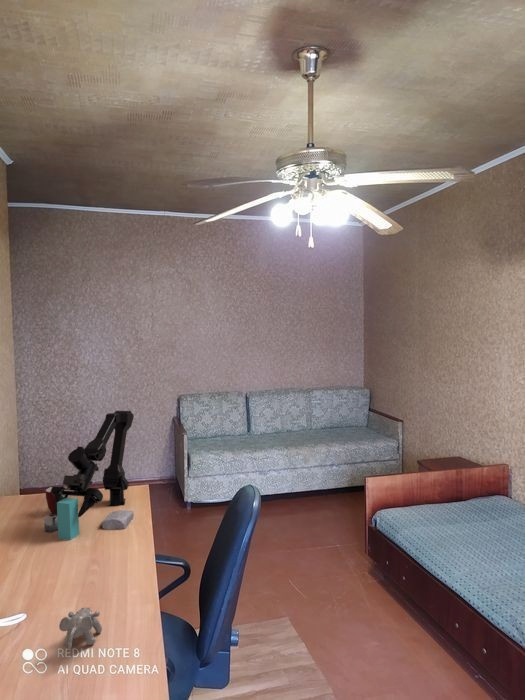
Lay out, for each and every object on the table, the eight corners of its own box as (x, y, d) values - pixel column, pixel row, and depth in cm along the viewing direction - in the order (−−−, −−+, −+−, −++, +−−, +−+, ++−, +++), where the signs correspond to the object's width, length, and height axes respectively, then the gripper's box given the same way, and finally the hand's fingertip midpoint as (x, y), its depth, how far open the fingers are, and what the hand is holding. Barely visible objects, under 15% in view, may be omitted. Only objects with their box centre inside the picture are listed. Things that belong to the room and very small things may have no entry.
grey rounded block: (46, 528, 184) (45, 514, 184) (60, 526, 185) (59, 513, 185) (43, 533, 179) (42, 519, 179) (58, 531, 181) (57, 518, 180)
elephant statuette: (101, 627, 123) (100, 596, 123) (103, 654, 112) (102, 620, 112) (61, 636, 120) (60, 605, 120) (59, 665, 109) (57, 630, 109)
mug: (46, 509, 203) (45, 485, 202) (67, 506, 206) (66, 482, 206) (46, 518, 193) (45, 493, 193) (68, 515, 196) (67, 490, 196)
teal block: (67, 533, 179) (65, 497, 179) (79, 534, 178) (77, 498, 177) (58, 538, 174) (56, 502, 174) (70, 540, 173) (69, 503, 173)
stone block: (100, 535, 182) (127, 529, 181) (98, 522, 182) (124, 516, 181) (111, 523, 194) (136, 518, 193) (108, 511, 193) (133, 506, 193)
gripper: (52, 463, 182) (33, 503, 172) (97, 466, 178) (80, 507, 168) (66, 478, 190) (48, 517, 180) (110, 481, 186) (94, 521, 176)
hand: (67, 515), depth 176 cm, fingers open, 9 cm apart
